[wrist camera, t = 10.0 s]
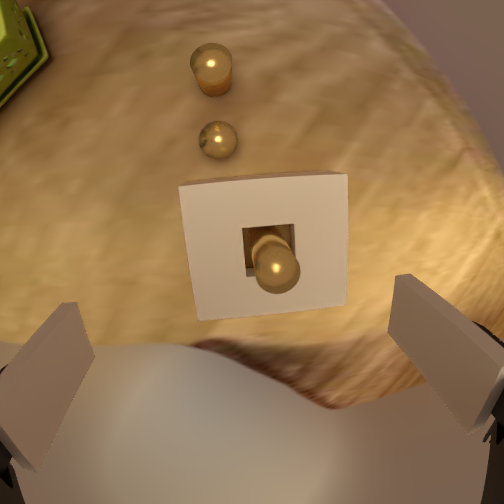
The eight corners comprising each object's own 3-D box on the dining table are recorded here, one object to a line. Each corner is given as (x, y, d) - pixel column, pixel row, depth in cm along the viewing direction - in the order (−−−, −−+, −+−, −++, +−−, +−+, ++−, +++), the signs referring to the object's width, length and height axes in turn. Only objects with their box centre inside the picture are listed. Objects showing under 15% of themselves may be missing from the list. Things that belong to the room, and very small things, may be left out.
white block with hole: (202, 296, 38) (197, 320, 32) (187, 181, 33) (178, 186, 28) (330, 283, 38) (345, 305, 33) (328, 170, 34) (347, 174, 28)
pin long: (249, 251, 36) (257, 296, 25) (246, 221, 35) (253, 253, 24) (279, 248, 36) (301, 291, 25) (278, 218, 35) (300, 249, 24)
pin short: (205, 159, 33) (200, 160, 28) (202, 127, 32) (197, 123, 27) (237, 156, 33) (238, 156, 28) (235, 124, 32) (235, 119, 27)
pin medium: (199, 98, 31) (190, 81, 23) (198, 69, 30) (189, 45, 22) (232, 95, 31) (233, 77, 23) (230, 66, 30) (230, 41, 22)
